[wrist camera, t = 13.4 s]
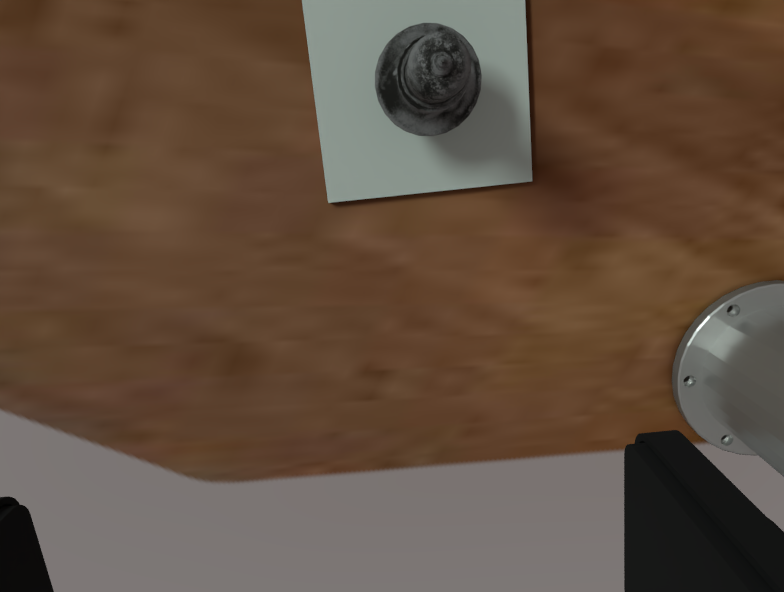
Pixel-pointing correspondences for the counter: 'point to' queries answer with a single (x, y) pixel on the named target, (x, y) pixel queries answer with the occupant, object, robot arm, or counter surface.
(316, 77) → the mat
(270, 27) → the counter surface
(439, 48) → the stone chess piece
